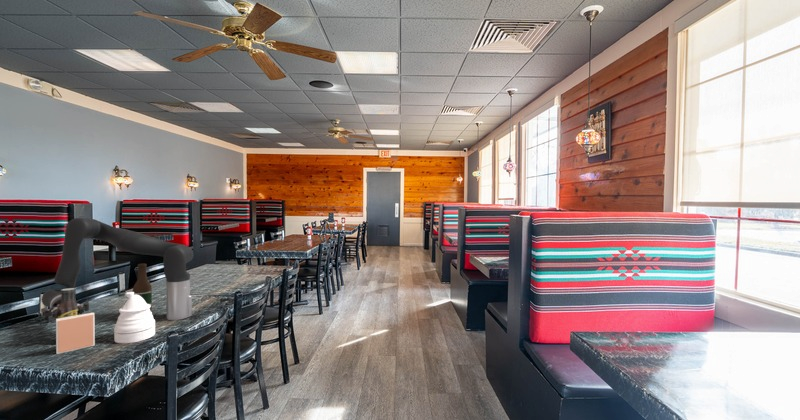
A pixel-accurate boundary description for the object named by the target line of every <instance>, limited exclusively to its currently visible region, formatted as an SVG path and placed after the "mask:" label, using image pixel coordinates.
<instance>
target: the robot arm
mask: <svg viewBox="0 0 800 420" xmlns="http://www.w3.org/2000/svg"><path fill="white" fill-rule="evenodd" d="M84 239H89V240H90V239H91V240H99V241H103V242H107V243H109V244H110V245H113V246H114V247H115V248H118V249H119V250H123V251H125V252H128V253H132V254H137V255H146V256H157V257H162V258H163V273H164V274H163V275H164V276H165V279H166V280H165V282H166V285H165V286H166V287H165V288H166V289H165V292H166V294H165V295H166V300H165V301H166V305H165V306H166V307H165V308H166V320H168V321H176V320H177V321H178V320H179V321H180V320H183V319H186V318H187V319H188V318H189V317H191V316H192V315H193V313H192V312H193V307H192V303H193V302H192V301H193V300H192V299H193V298H192V295H191V274H190V272H188V271H187V267H186V264H188V263H189V262H191V261H192V260H193V258H194V251H193V250H192V248H191V247H189V246H188V245H185V244H181V243H175V242H171V241H166V240H163V239H159V238H157V237H153V236H151V235H147V234H143V233H141V232H137V231H134V230H131V229H130V230H129V229H125V228H120V227H115V226H113V225H109V224H107V223H104V222H101V221H100V220H97V219H93V218H87V217H75V218H73V219H71V220H69V221H68V223H67V224H66V227H65V232H64V239H63V247H62V253H61V254H62V255H61V258H60V259H61V260H60V263H59V265H58V267H57V268H58V269H57V270H56V274H55V276H54V279H53V280H54V283H55V284H57V285H60V286H64V287H65V288H66V289H67V288H75V289H76V285H77V284H76V282H77V278H78V276H79V272H80V271H81V265H82V261H81V257H80V256H81V255H80V250H81V245H82V243H83V241H84ZM61 290H62V288H61V289H59V288H50V289H48V290H46V291H44V293H43V294H42V296H41V302H42V305H43V306H44V308H41V309H40V316H41V317H43V318H44V319H47V318H49V317H51V318H52V319H53V318H54V319H56V318H57V308H58V306H59V304H60V303H61V299H62V294H61ZM75 301H76V303H77V305H78V308H79V315H82V314H84V313H85V312H88V311H89V310H90V306H89V305H90V303H89V300H88V301H84V302H83V303H79V302H77V300H76V299H75ZM45 307H48V308H49V309H48V308H45Z"/></svg>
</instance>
